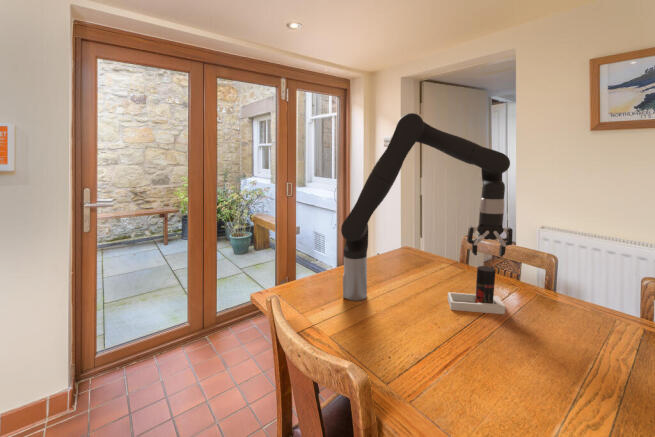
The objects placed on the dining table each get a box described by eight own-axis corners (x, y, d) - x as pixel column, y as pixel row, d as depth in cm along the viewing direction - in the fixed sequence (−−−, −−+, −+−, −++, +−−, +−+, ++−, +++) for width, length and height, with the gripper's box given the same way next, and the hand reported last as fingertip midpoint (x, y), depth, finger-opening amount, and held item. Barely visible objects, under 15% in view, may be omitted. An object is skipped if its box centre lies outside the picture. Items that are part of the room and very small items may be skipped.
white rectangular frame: (450, 309, 116) (451, 302, 116) (447, 299, 125) (447, 292, 124) (504, 314, 112) (505, 306, 112) (497, 303, 121) (498, 295, 120)
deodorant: (495, 310, 115) (498, 271, 112) (479, 311, 115) (481, 271, 112) (487, 303, 121) (490, 265, 118) (472, 303, 121) (474, 266, 118)
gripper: (471, 212, 109) (468, 257, 112) (517, 213, 106) (513, 259, 109) (467, 209, 116) (464, 251, 119) (510, 209, 113) (506, 253, 116)
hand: (487, 255), depth 114 cm, fingers open, 8 cm apart
